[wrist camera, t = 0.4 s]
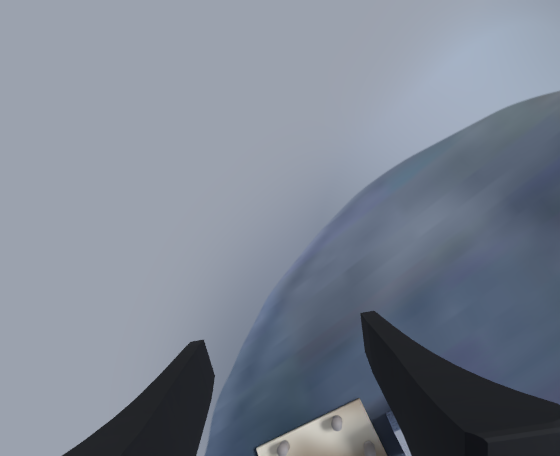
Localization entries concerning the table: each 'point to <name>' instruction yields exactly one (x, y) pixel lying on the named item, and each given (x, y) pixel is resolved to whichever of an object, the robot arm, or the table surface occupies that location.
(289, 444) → the birch pin tray
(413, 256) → the table surface
